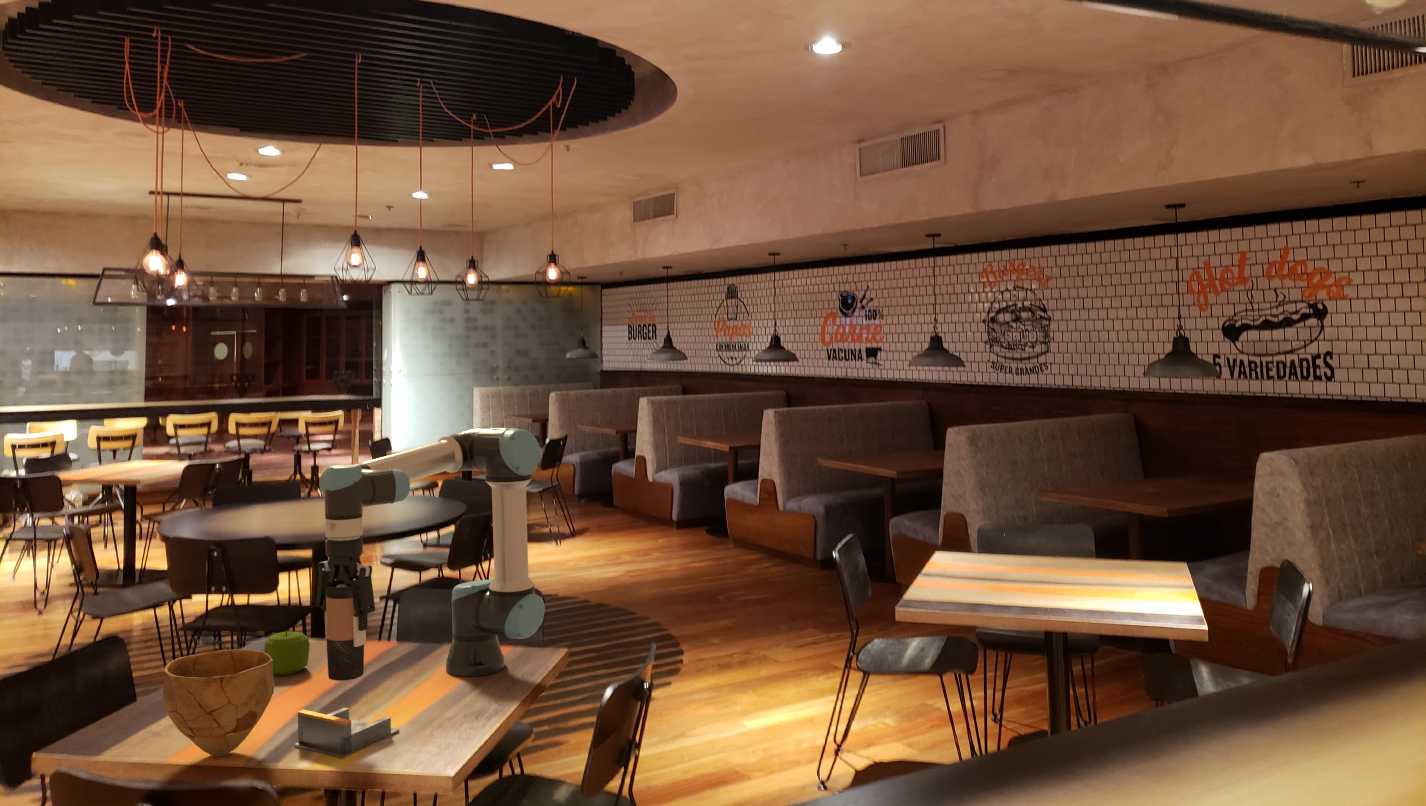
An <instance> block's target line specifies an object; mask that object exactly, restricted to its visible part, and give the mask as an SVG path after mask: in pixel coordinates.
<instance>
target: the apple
mask: <svg viewBox="0 0 1426 806" xmlns="http://www.w3.org/2000/svg"><path fill="white" fill-rule="evenodd" d="M310 645H311V644H310V641H309V636H307V635H306V634H305V633H303V632H300V631H288V630H286V631H281V632H277V633H274V634H272V635H270V636H269V637H268V638H267V639H266V640H265V642H264V647H263V652H264V653H266V654H268V655H270V657H271V658H272V659H273V661H272V663H273V675H277V676H290V675H293V674H296V673H298V672H300V671H301V670H302V669H304V668H305V667H307V665H308V663H309V657H310Z"/></svg>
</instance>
